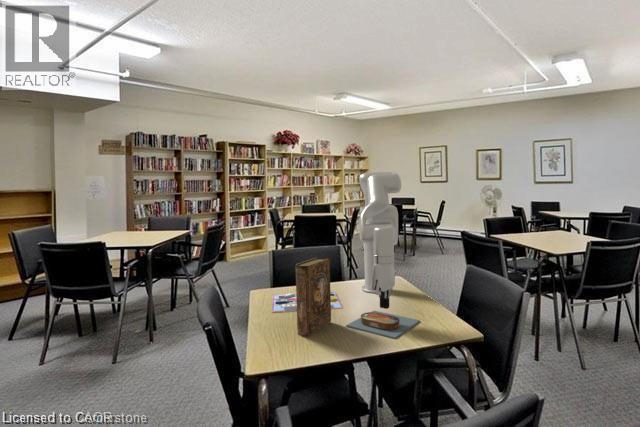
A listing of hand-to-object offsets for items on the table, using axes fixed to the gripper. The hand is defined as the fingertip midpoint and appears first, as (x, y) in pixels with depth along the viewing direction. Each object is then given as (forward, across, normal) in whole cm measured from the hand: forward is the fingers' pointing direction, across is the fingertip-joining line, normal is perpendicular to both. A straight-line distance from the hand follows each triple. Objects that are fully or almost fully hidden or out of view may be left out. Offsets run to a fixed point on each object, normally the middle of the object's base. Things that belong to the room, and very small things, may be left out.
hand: (384, 307), depth 143 cm
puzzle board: (+7, -3, -42) cm, 43 cm away
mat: (+6, +1, 0) cm, 6 cm away
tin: (+4, -1, 0) cm, 4 cm away
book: (+6, +19, -19) cm, 28 cm away
